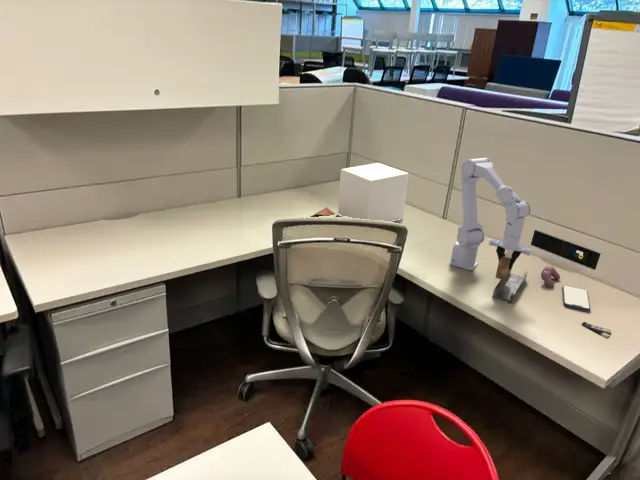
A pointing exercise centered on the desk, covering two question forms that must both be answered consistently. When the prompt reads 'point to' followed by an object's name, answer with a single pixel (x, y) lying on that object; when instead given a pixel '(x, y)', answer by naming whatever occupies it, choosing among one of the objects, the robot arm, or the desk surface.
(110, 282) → the desk surface
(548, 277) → the video game controller
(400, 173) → the cube
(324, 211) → the sunglasses case
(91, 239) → the desk surface
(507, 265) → the brown rectangular block
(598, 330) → the usb flash drive
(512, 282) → the rail
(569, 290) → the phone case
